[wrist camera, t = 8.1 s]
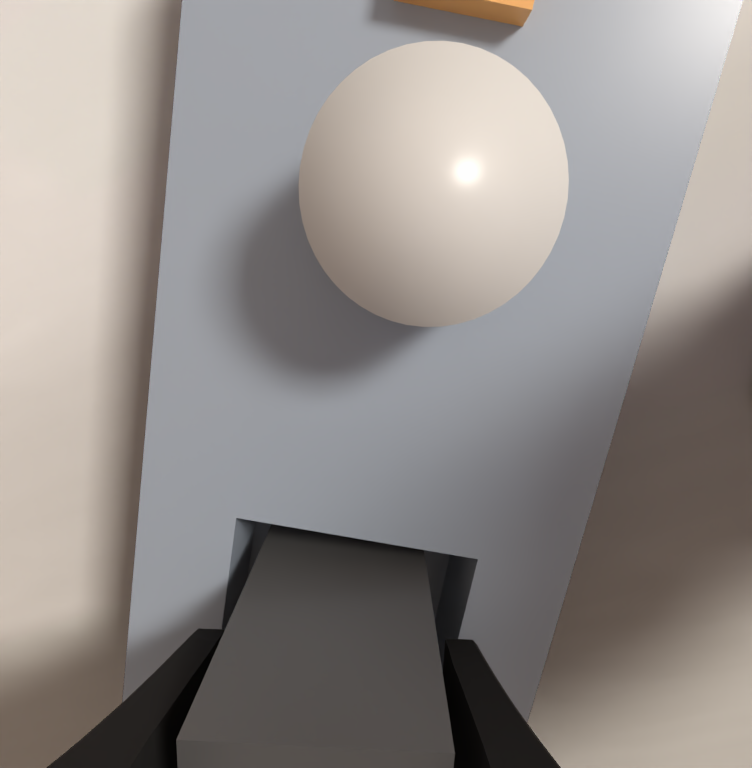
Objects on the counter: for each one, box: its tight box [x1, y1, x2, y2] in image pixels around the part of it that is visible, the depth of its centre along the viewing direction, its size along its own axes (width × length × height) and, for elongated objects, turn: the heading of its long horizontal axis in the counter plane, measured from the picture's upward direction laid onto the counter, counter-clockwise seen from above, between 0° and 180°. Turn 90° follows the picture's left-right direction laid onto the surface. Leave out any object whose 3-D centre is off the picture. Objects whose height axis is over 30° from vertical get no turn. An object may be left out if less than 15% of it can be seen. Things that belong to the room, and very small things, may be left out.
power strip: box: [122, 0, 743, 722], centre depth 11 cm, size 10×22×6 cm, turn 170°
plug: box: [176, 524, 455, 768], centre depth 11 cm, size 4×4×7 cm
